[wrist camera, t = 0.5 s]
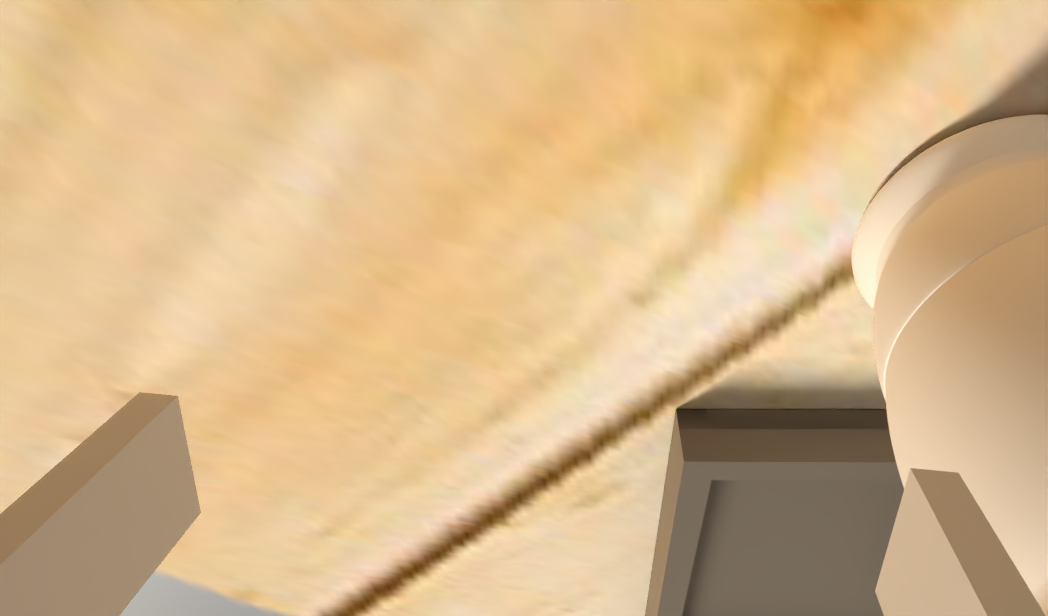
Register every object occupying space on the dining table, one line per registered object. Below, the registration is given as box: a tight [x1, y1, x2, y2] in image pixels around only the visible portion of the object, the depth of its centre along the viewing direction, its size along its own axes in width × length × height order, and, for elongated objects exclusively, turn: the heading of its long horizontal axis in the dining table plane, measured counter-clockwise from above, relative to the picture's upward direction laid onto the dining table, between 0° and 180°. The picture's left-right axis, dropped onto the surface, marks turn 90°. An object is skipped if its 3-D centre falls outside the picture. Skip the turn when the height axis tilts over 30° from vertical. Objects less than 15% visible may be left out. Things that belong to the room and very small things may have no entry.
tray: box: [645, 410, 904, 616], centre depth 37 cm, size 20×20×3 cm
